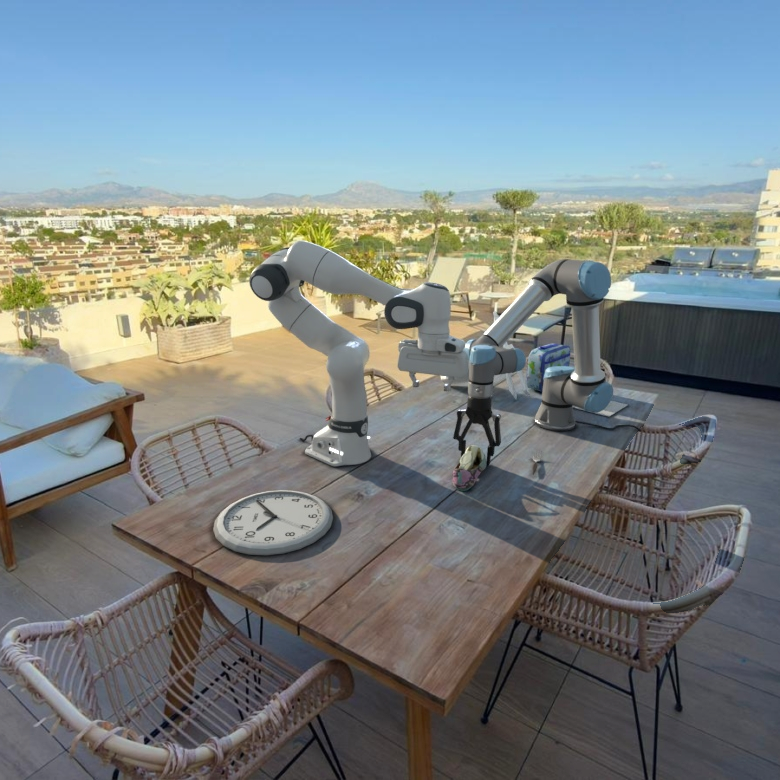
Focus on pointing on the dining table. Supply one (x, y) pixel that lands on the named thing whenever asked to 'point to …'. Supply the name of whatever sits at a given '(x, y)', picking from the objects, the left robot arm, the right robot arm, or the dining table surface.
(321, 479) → the dining table surface
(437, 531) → the dining table surface
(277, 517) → the wall clock
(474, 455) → the shoe
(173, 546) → the dining table surface
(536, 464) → the fork
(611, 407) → the invitation card
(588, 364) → the right robot arm
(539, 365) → the lunch box
